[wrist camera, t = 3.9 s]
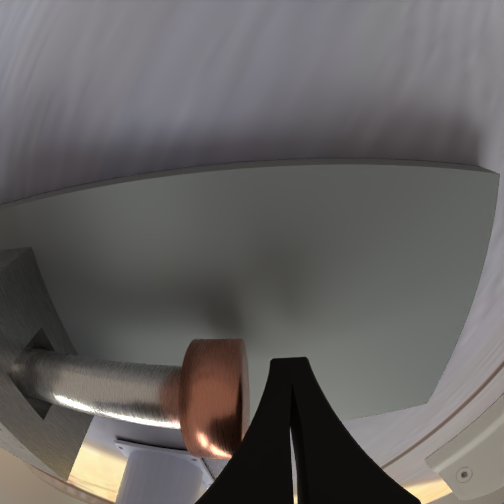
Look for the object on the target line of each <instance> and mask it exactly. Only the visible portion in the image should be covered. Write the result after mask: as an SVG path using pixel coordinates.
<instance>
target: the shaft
mask: <svg viewBox="0 0 504 504" xmlns="http://www.w3.org/2000/svg"><path fill="white" fill-rule="evenodd" d="M7 374H8V376H9V377H10V379H11V380H12V381H13V383H14V384H15V386H16V387H17V388H18V390H19V391H20V392H21V393H23V394H26V395H29V396H31V397H34V398H37V399H40V400H43V401H46V402H49V403H52V404H55V405H59V406H62V407H66V408H69V409H73V410H76V411H80V412H84V413H88V414H92V415H96V416H101V417H105V418H110V419H115V420H120V421H125V422H130V423H136V424H142V425H149V426H156V427H164V428H172V429H181V432H182V436H183V440H184V443H185V446H186V448H187V450H188V452H189V453H190V454H191V455H192V456H193V457H198V458H211V459H229V460H230V459H231V457H232V456H233V454H234V453H235V451H236V450H237V448H238V446H239V445H240V443H241V441H242V439H243V438H244V436H245V434H246V432H247V430H248V428H249V426H250V388H249V371H248V360H247V352H246V347H245V343H244V340H243V339H242V338H241V339H194V340H193V341H192V342H191V343H190V344H189V346H188V348H187V350H186V353H185V356H184V360H183V364H182V366H174V365H157V364H144V363H132V362H122V361H113V360H105V359H97V358H89V357H82V356H76V355H70V354H64V353H58V352H52V351H47V350H42V349H37V348H32V347H28V346H26V347H25V348H24V350H23V351H22V352H21V354H20V355H19V356H18V358H17V359H16V360H15V362H14V363H13V364H12V366H11V367H10V368H9V370H8V371H7Z"/></svg>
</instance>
